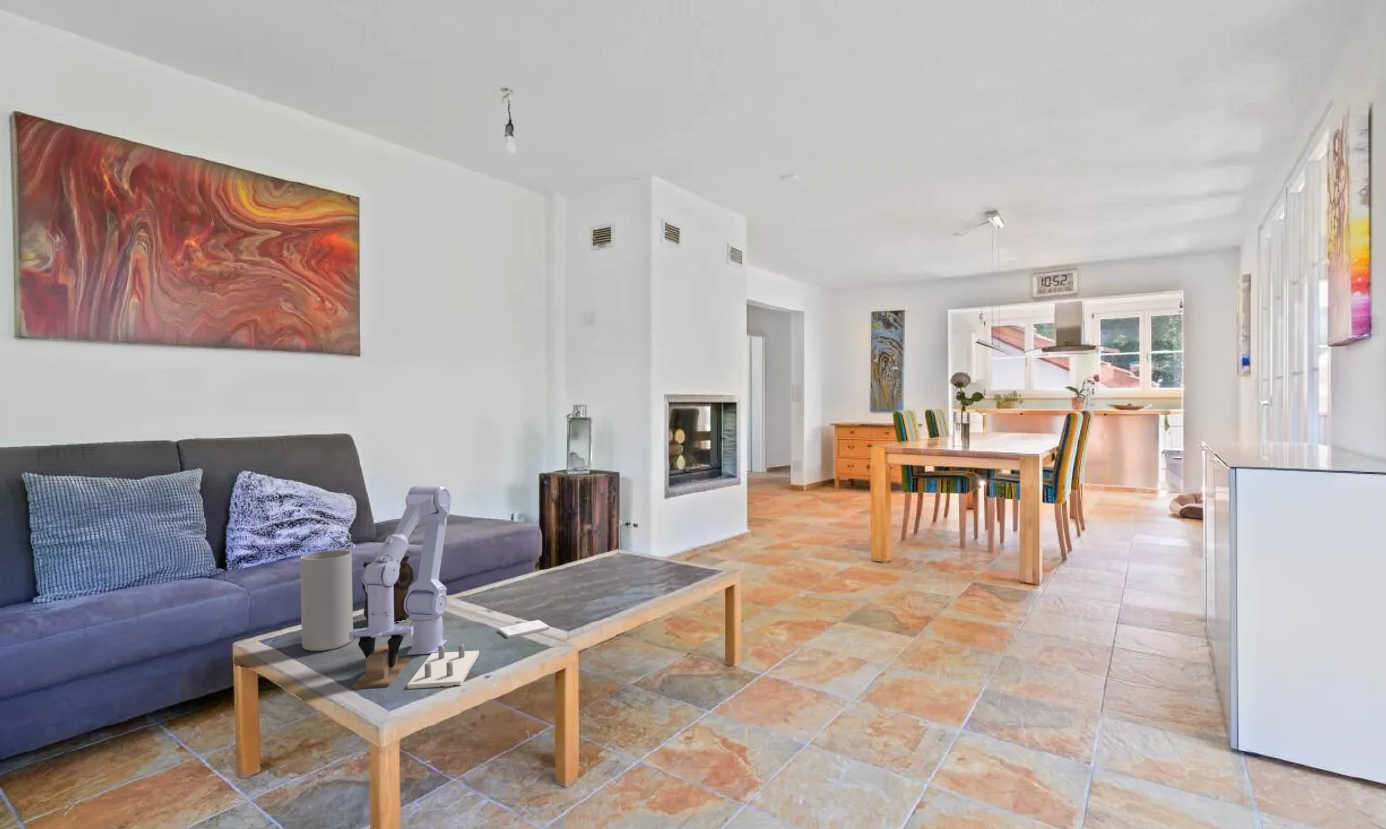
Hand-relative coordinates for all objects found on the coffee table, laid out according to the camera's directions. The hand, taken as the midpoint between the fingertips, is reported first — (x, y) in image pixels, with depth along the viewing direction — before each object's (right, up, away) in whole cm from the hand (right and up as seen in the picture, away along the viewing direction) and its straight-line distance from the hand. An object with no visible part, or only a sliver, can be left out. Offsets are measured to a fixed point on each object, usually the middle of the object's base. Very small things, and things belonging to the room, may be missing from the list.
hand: (382, 666), depth 161 cm
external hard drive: (+27, -2, +31) cm, 41 cm away
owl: (-18, -2, +43) cm, 47 cm away
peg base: (+15, -2, +2) cm, 15 cm away
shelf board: (0, -2, 0) cm, 2 cm away
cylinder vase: (-26, -3, +22) cm, 34 cm away
